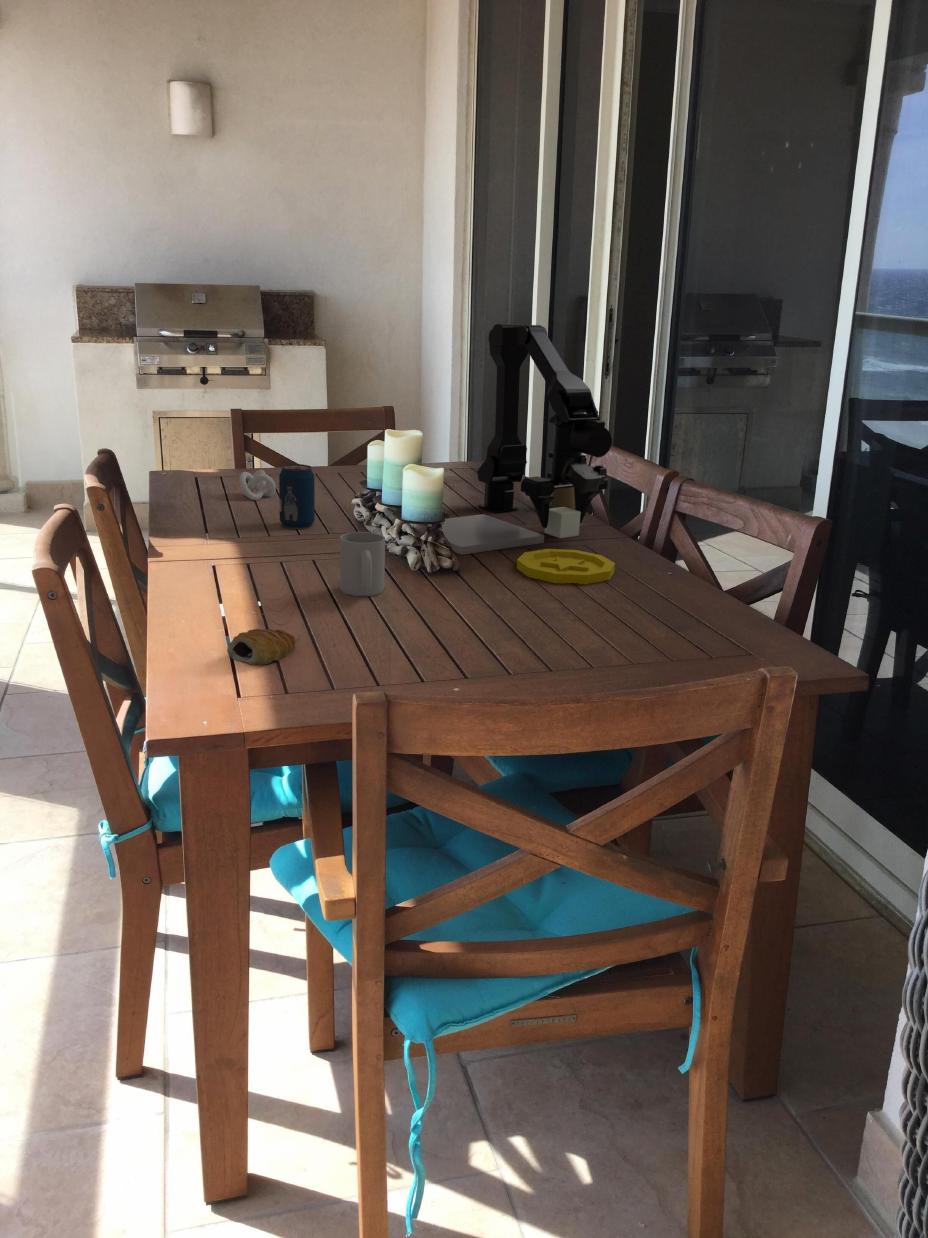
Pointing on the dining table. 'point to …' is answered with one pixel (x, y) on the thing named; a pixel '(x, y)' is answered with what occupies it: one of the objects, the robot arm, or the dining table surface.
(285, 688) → the dining table surface
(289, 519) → the soda can
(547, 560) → the decorative disc
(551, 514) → the sage cube
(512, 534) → the grey tile
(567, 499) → the cork
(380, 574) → the cup
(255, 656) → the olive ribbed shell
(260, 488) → the knot
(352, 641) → the dining table surface
